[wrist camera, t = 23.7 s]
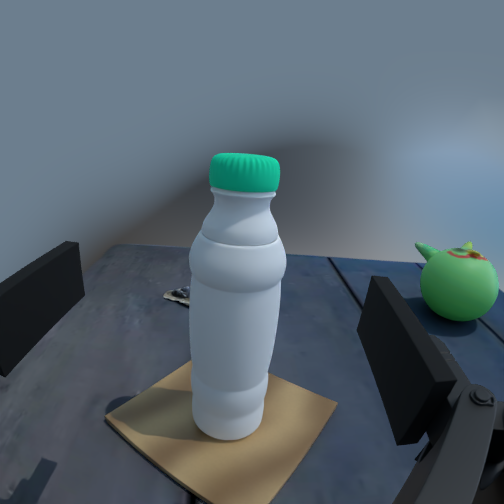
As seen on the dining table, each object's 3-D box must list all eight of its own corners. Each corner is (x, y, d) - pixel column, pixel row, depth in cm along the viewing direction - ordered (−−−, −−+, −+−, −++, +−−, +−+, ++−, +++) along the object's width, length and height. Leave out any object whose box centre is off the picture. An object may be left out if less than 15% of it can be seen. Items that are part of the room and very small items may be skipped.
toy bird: (435, 338, 46) (463, 259, 41) (397, 294, 62) (414, 228, 57) (497, 331, 47) (522, 264, 42) (456, 295, 63) (474, 236, 58)
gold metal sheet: (106, 421, 27) (104, 415, 26) (212, 350, 41) (212, 344, 41) (248, 528, 18) (249, 524, 17) (336, 408, 32) (338, 402, 32)
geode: (203, 310, 51) (203, 300, 50) (157, 304, 51) (156, 294, 50) (210, 291, 57) (210, 282, 56) (168, 286, 57) (168, 277, 56)
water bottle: (182, 404, 30) (178, 150, 21) (239, 386, 34) (261, 153, 25) (211, 452, 24) (222, 156, 16) (274, 427, 28) (321, 163, 20)
